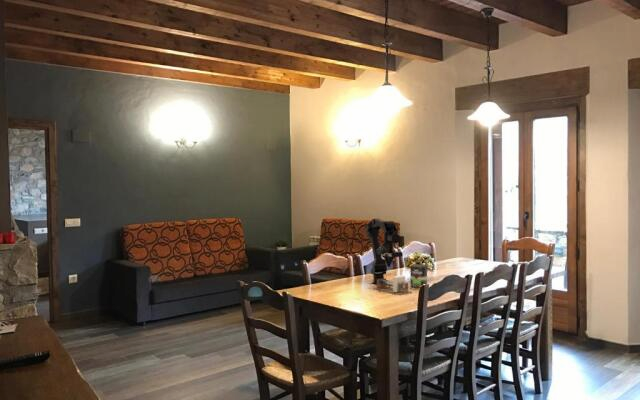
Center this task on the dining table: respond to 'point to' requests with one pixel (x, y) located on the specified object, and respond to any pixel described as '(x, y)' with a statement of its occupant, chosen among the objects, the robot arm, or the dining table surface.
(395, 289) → the collar
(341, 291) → the dining table surface
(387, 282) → the pipe
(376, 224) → the robot arm
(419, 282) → the coffee can
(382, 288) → the wall mounted rod holder
